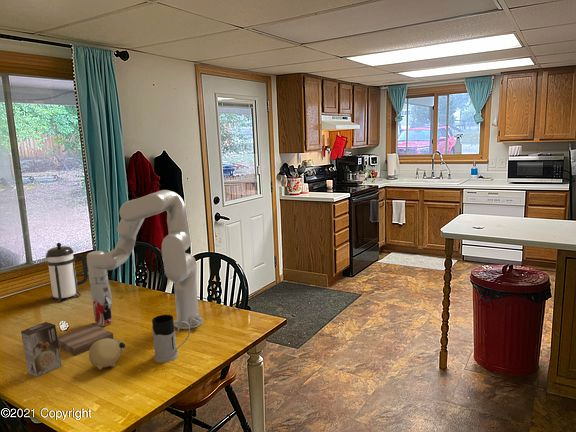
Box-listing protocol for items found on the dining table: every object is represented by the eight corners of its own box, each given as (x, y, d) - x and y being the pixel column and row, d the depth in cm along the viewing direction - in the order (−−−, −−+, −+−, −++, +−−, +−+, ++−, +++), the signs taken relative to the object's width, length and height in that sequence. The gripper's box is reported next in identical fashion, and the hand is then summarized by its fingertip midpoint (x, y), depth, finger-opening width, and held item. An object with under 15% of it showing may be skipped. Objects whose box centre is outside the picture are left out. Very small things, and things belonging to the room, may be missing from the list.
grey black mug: (158, 350, 164) (155, 314, 161) (195, 350, 163) (192, 313, 161) (150, 362, 155) (146, 324, 153) (189, 361, 155) (185, 323, 152)
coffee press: (74, 302, 220) (67, 245, 214) (44, 303, 220) (35, 246, 215) (90, 290, 237) (83, 238, 231) (62, 291, 237) (54, 238, 232)
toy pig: (130, 363, 156) (127, 335, 154) (98, 377, 147) (94, 348, 145) (117, 354, 162) (114, 328, 160) (86, 368, 153) (82, 340, 151)
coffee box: (52, 361, 159) (46, 321, 156) (62, 365, 156) (56, 324, 153) (27, 373, 151) (20, 330, 149) (36, 377, 148) (30, 334, 145)
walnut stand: (113, 339, 175) (112, 333, 174) (74, 355, 163) (73, 348, 162) (94, 330, 185) (93, 323, 184) (56, 344, 172) (55, 337, 172)
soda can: (106, 327, 187) (103, 301, 185) (92, 326, 189) (88, 301, 186) (115, 320, 194) (112, 295, 192) (101, 320, 195) (98, 295, 193)
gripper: (117, 280, 185) (121, 318, 188) (97, 273, 196) (101, 310, 199) (100, 285, 179) (105, 324, 182) (80, 278, 190) (85, 315, 193)
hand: (103, 316), depth 191 cm, fingers closed on soda can, 7 cm apart
